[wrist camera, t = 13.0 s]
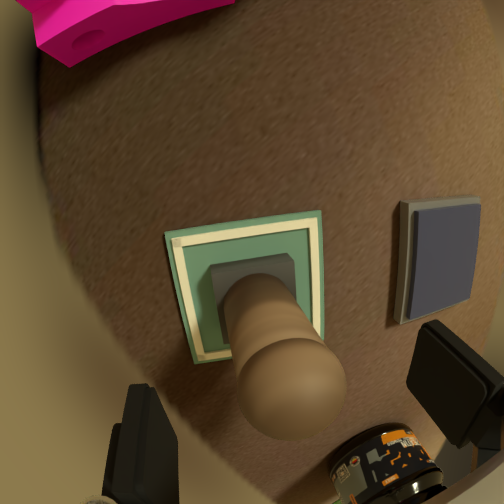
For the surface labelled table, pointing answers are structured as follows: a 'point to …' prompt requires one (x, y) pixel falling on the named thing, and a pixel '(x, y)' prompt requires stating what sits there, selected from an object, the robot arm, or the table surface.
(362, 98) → the table surface
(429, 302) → the ink pad
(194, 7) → the toy block
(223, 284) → the stamp
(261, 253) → the mat
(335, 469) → the supplement container
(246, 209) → the table surface
